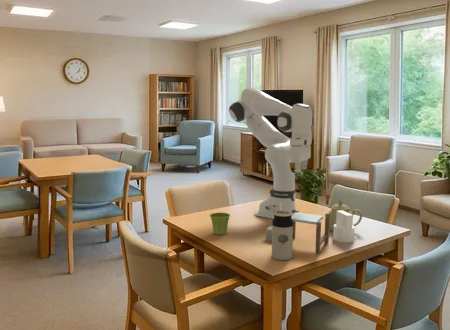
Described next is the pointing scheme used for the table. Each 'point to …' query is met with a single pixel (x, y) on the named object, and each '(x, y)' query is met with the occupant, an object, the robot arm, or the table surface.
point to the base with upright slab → (343, 227)
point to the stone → (269, 233)
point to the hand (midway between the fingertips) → (301, 170)
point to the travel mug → (282, 235)
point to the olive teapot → (334, 213)
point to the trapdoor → (306, 218)
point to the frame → (317, 232)
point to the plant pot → (220, 222)
